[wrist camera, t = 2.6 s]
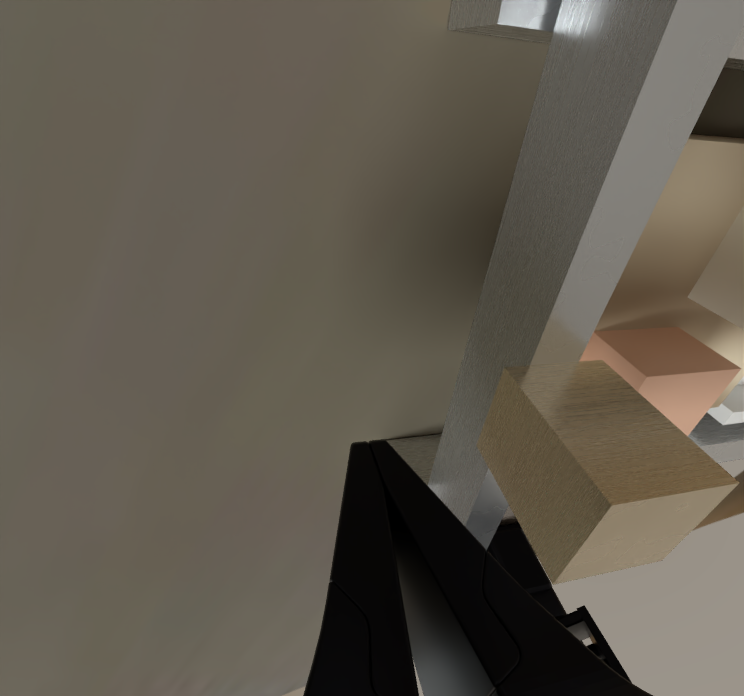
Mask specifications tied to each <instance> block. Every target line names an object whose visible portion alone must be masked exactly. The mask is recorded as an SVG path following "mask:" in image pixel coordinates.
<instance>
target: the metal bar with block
mask: <svg viewBox="0 0 744 696" xmlns="http://www.w3.org/2000/svg"><path fill="white" fill-rule="evenodd" d="M743 26H744V0H562V3H561V7H560V10H559V14H558V17H557V21H556V25H555V28H554V32H553V35H552V39H551V43H550V46H549V50H548V53H547V57H546V61H545V64H544V68H543V72H542V75H541V79H540V82H539V86H538V90H537V93H536V97H535V100H534V104H533V108H532V111H531V115H530V118H529V122H528V126H527V129H526V133H525V136H524V140H523V144H522V147H521V151H520V154H519V158H518V162H517V165H516V169H515V172H514V176H513V180H512V183H511V187H510V190H509V194H508V198H507V201H506V205H505V209H504V212H503V216H502V219H501V223H500V227H499V230H498V234H497V237H496V241H495V245H494V248H493V252H492V255H491V259H490V263H489V266H488V270H487V273H486V277H485V281H484V284H483V288H482V291H481V295H480V299H479V302H478V306H477V309H476V313H475V317H474V320H473V324H472V328H471V331H470V335H469V338H468V342H467V346H466V349H465V353H464V356H463V360H462V364H461V367H460V371H459V374H458V378H457V382H456V385H455V389H454V392H453V396H452V400H451V403H450V407H449V410H448V414H447V418H446V421H445V425H444V428H443V432H442V436H441V439H440V443H439V446H438V450H437V454H436V457H435V461H434V465H433V468H432V472H431V475H430V479H429V483H428V486H429V488H430V489H431V490H432V491H433V492H434V493H435V494H436V495H437V496H438V497H439V498H440V500H441V501H442V502H443V503H444V504H445V505H446V506H447V507H448V508H449V509H450V510H451V512H452V513H453V514H454V515H455V516H456V517H457V518H458V519H459V520H460V521H461V522H462V524H463V525H464V526H465V527H466V528H467V529H468V530H469V531H470V532H471V533H472V534H473V535H474V537H475V538H476V539H477V540H478V541H479V542H480V543H481V544H482V545H483V546H484V547H485V549H486V550H487V548H488V546H489V544H490V542H491V540H492V538H493V536H494V534H495V532H496V530H497V528H498V526H499V524H500V522H501V520H502V518H503V516H504V514H505V512H506V510H507V508H508V505H509V506H510V508H511V509H512V511H513V513H514V515H515V517H516V519H517V520H518V522H519V524H520V526H521V528H522V529H523V531H524V533H525V535H526V537H527V539H528V540H529V542H530V544H531V546H532V548H533V549H534V551H535V553H536V555H537V557H538V558H539V560H540V562H541V564H542V566H543V568H544V569H545V571H546V573H547V575H548V577H549V579H550V580H551V582H552V584H553V585H554V584H558V583H562V582H567V581H572V580H577V579H581V578H586V577H590V576H595V575H599V574H603V573H608V572H613V571H617V570H622V569H626V568H631V567H635V566H640V565H644V564H649V563H653V562H658V561H662V560H663V559H664V558H665V557H666V556H667V555H668V554H669V553H670V552H671V551H672V550H673V549H674V548H675V547H676V546H677V545H678V544H679V543H680V542H681V541H682V540H683V539H684V538H685V537H686V536H687V535H688V534H689V533H690V532H691V531H692V530H693V529H694V528H695V527H696V526H697V525H698V524H699V523H700V522H701V521H702V520H703V519H704V518H705V517H706V516H707V515H708V514H709V513H710V512H711V511H712V510H713V509H714V508H715V507H716V506H717V505H718V504H719V503H720V502H721V501H722V500H723V499H724V498H725V497H726V496H727V495H728V494H729V493H730V492H731V491H732V490H733V489H734V488H735V487H736V486H737V485H738V484H739V482H738V481H737V480H736V479H734V478H733V477H732V476H731V475H730V474H729V473H728V472H727V471H725V470H724V469H723V468H722V467H721V466H720V465H719V464H718V463H717V462H715V461H714V460H713V459H712V458H711V457H710V456H709V455H708V454H707V453H705V452H704V451H703V450H702V449H701V448H700V447H699V446H698V445H697V444H695V443H694V442H693V441H692V440H691V439H690V438H689V437H688V436H687V435H685V434H684V433H683V432H682V431H681V430H680V429H679V428H678V427H677V426H675V425H674V424H673V423H672V422H671V421H670V420H669V419H668V418H666V417H665V416H664V415H663V414H662V413H661V412H660V411H659V410H658V409H656V408H655V407H654V406H653V405H652V404H651V403H650V402H649V401H648V400H646V399H645V398H644V397H643V396H642V395H641V394H640V393H639V392H638V391H636V390H635V389H634V388H633V387H632V386H631V385H630V384H629V383H628V382H626V381H625V380H624V379H623V378H622V377H621V376H620V375H619V374H618V373H616V372H615V371H614V370H613V369H612V368H611V367H610V366H609V365H607V364H606V363H605V362H604V361H603V360H593V361H580V359H581V357H582V354H583V352H584V350H585V348H586V346H587V344H588V342H589V340H590V338H591V336H592V334H593V332H594V330H595V328H596V326H597V324H598V322H599V320H600V318H601V316H602V314H603V312H604V310H605V308H606V305H607V303H608V301H609V299H610V297H611V295H612V293H613V291H614V289H615V287H616V285H617V283H618V281H619V279H620V277H621V275H622V273H623V271H624V269H625V267H626V265H627V263H628V261H629V259H630V257H631V254H632V252H633V250H634V248H635V246H636V244H637V242H638V240H639V238H640V236H641V234H642V232H643V230H644V228H645V226H646V224H647V222H648V220H649V218H650V216H651V214H652V212H653V210H654V208H655V205H656V203H657V201H658V199H659V197H660V195H661V193H662V191H663V189H664V187H665V185H666V183H667V181H668V179H669V177H670V175H671V173H672V171H673V169H674V167H675V165H676V163H677V161H678V159H679V157H680V154H681V152H682V150H683V148H684V146H685V144H686V142H687V140H688V138H689V136H690V134H691V132H692V130H693V128H694V126H695V124H696V122H697V120H698V118H699V116H700V114H701V112H702V110H703V108H704V106H705V103H706V101H707V99H708V97H709V95H710V93H711V91H712V89H713V87H714V85H715V83H716V81H717V79H718V77H719V75H720V73H721V71H722V69H723V67H724V65H725V63H726V61H727V59H728V57H729V54H730V52H731V50H732V48H733V46H734V44H735V42H736V40H737V38H738V36H739V34H740V32H741V30H742V28H743ZM579 361H580V362H579Z"/></svg>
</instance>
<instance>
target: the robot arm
mask: <svg viewBox="0 0 744 696" xmlns="http://www.w3.org/2000/svg"><path fill="white" fill-rule="evenodd" d="M589 637H590V639H591V641H592V643H593V644H591V645H588V646H585V645H584V644H583V642H582V640H584V639H586V638H589ZM412 657H413V658H412ZM413 660H414V663H415V667H416V670H417V674H418V677H419V680H420V684H421V687H422V691H423V694H424V696H653V695H651V694H649V693H647V692H645V691H643V690H642V689H640V688H639V687H637V686H635V685H633V684H632V682H631V681H630V679H629V677H628V676H627V674H626V672H625V671H624V669H623V668H622V666H621V664H620V663H619V661H618V660H617V658H616V656H615V654H614V653H613V651H612V650H611V648H610V646H609V645H608V643H607V641H606V640H605V638H604V636H603V635H602V633H601V632H600V630H599V629H598V627H597V625H596V624H595V622H594V620H593V619H592V617H591V615H590V614H589V612H588V610H587V609H586V607H585V606H582V607H580V608H577V611H574V612H572V613H570V614H566V612H565V610H564V608H563V606H562V604H561V603H560V601H559V599H558V597H557V595H556V593H555V592H554V590H553V588H552V585H551V582H550V580H549V578H548V577H547V575H546V573H545V571H544V569H543V567H542V566H541V564H540V562H539V560H538V558H537V556H536V555H535V553H534V551H533V549H532V547H531V546H530V542H529V540H528V539H527V537H526V535H525V533H524V531H523V529H522V528H521V526H520V524H515V525H509V526H504V527H498V528H497V530H496V532H495V534H494V536H493V538H492V540H491V542H490V544H489V546H488V548H487V550H486V549H485V547H484V546H483V545H482V544H481V543H480V542H479V541H478V540H477V539H476V538H475V537H474V535H473V534H472V533H471V532H470V531H469V530H468V529H467V528H466V527H465V526H464V525H463V524H462V522H461V521H460V520H459V519H458V518H457V517H456V516H455V515H454V514H453V513H452V512H451V510H450V509H449V508H448V507H447V506H446V505H445V504H444V503H443V502H442V501H441V500H440V498H439V497H438V496H437V495H436V494H435V493H434V492H433V491H432V490H431V489H430V488H429V486H428V485H427V484H426V483H425V482H424V481H423V480H422V479H421V478H420V477H419V476H418V474H417V473H416V472H415V471H414V470H413V469H412V468H411V467H410V466H409V465H408V464H407V463H406V461H405V460H404V459H403V458H402V457H401V456H400V455H399V454H398V453H397V452H396V451H395V449H394V448H393V447H392V446H391V445H390V444H389V443H388V442H387V441H386V440H384V439H381V440H372V441H369V443H368V442H366V441H364V442H355V443H352V444H351V447H350V454H349V460H348V466H347V473H346V479H345V486H344V492H343V498H342V505H341V511H340V517H339V524H338V530H337V536H336V543H335V549H334V556H333V562H332V568H331V575H330V583H329V586H328V592H327V599H326V605H325V610H324V615H323V621H322V626H321V631H320V635H319V639H318V643H317V647H316V651H315V655H314V659H313V663H312V666H311V670H310V674H309V677H308V681H307V684H306V688H305V691H304V695H303V696H419V693H418V688H417V682H416V676H415V670H414V664H413Z"/></svg>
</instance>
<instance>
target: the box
mask: <svg viewBox="0 0 744 696" xmlns="http://www.w3.org/2000/svg"><path fill="white" fill-rule="evenodd" d="M707 413H709V414H710V415H711V416H712V417H713V418H715V419H716V420H717V421H718V422H720V423H721V424H722V425H727V424H735V423H742V422H744V376H743V378H742V379H741V380H740V381H739V383H738V384H737V385H736V386H735V387H734V389H733V390H732V391H731V392H730V394H729V395H728V396H727V397H726V399H725V400H724V401H723V402H722V403H721V405H720V406H719V407H715V408H710V409H709V410H708V411H707Z"/></svg>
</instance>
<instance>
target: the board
mask: <svg viewBox="0 0 744 696" xmlns="http://www.w3.org/2000/svg"><path fill="white" fill-rule="evenodd" d="M743 206H744V139H743V138H731V137H720V136H708V135H697V134H690V136H689V138H688V140H687V142H686V144H685V146H684V148H683V150H682V152H681V154H680V157H679V159H678V161H677V163H676V165H675V167H674V169H673V171H672V173H671V175H670V177H669V179H668V181H667V183H666V185H665V187H664V189H663V191H662V193H661V195H660V197H659V199H658V201H657V203H656V205H655V208H654V210H653V212H652V214H651V216H650V218H649V220H648V222H647V224H646V226H645V228H644V230H643V232H642V234H641V236H640V238H639V240H638V242H637V244H636V246H635V248H634V250H633V252H632V254H631V257H630V259H629V261H628V263H627V265H626V267H625V269H624V271H623V273H622V275H621V277H620V279H619V281H618V283H617V285H616V287H615V289H614V291H613V293H612V295H611V297H610V299H609V301H608V303H607V305H606V308H605V310H604V312H603V314H602V316H601V318H600V320H599V322H598V324H597V326H596V328H595V330H594V331H611V330H629V329H647V328H666V327H679V328H680V329H682V330H683V331H685V332H686V333H688V334H689V335H691V336H693V337H694V338H696V339H697V340H699V341H700V342H702V343H703V344H705V345H706V346H708V347H709V348H711V349H712V350H714V351H715V352H717V353H718V354H720V355H721V356H723V357H724V358H726V359H728V360H729V361H731V362H732V363H734V364H735V365H737V366H738V367H740V368H741V370H740V371H739V372H738V374H737V375H736V376H735V377H734V379H733V380H732V381H731V382H730V384H729V385H728V386H727V387H726V389H725V390H724V391H723V392H722V394H721V395H720V396H719V397H718V399H717V400H716V401H715V402H714V404H713V405H712V406H711V407H710V408H715V407H719V406H720V405H721V403H722V402H723V401H724V400H725V399H726V397H727V396H728V395H729V394H730V392H731V391H732V390H733V389H734V387H735V386H736V385H737V384H738V383H739V381H740V380H741V379H742V378H743V376H744V330H743V329H742V328H740V327H738V326H736V325H735V324H733V323H731V322H729V321H728V320H726V319H724V318H722V317H721V316H719V315H717V314H716V313H714V312H712V311H710V310H709V309H707V308H705V307H703V306H702V305H700V304H698V303H696V302H695V301H693V300H691V299H689V298H688V295H689V294H690V292H691V291H692V289H693V287H694V286H695V284H696V282H697V281H698V279H699V277H700V276H701V274H702V273H703V271H704V269H705V268H706V266H707V264H708V263H709V261H710V260H711V258H712V256H713V255H714V253H715V251H716V250H717V248H718V247H719V245H720V243H721V242H722V240H723V238H724V237H725V235H726V234H727V232H728V230H729V229H730V227H731V225H732V224H733V222H734V221H735V219H736V217H737V216H738V214H739V212H740V211H741V209H742V208H743Z"/></svg>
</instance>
